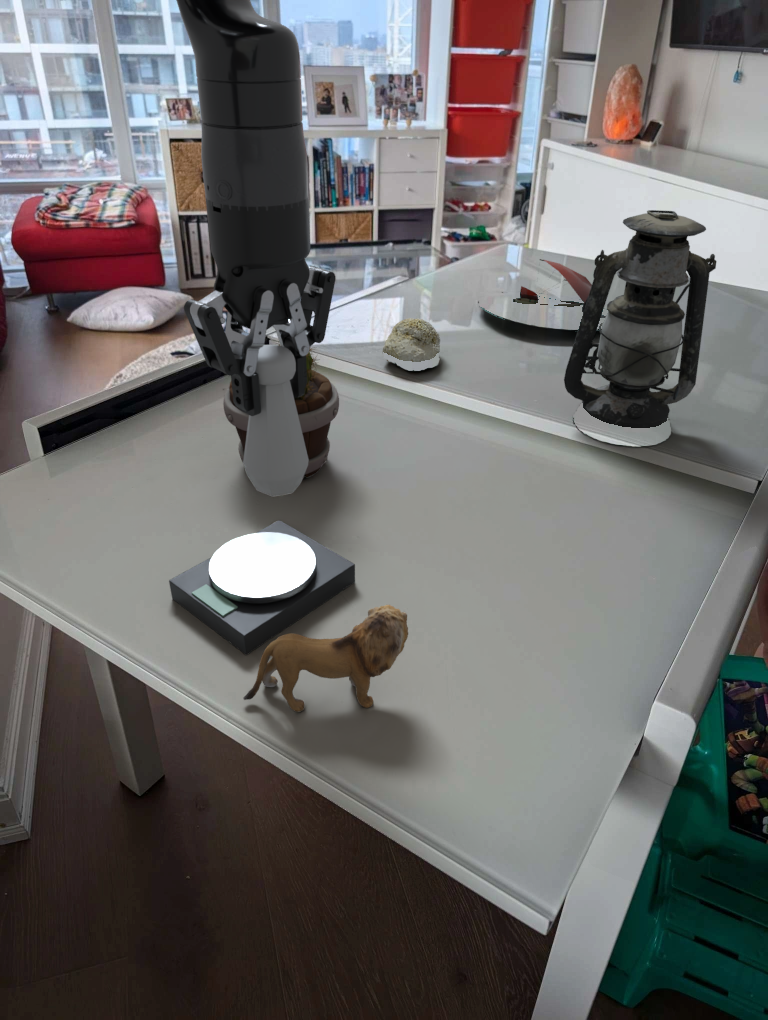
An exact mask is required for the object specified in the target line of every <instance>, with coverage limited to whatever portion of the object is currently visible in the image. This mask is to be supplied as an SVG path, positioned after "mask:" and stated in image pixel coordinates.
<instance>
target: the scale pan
mask: <svg viewBox="0 0 768 1020" xmlns="http://www.w3.org/2000/svg"><path fill="white" fill-rule="evenodd" d="M211 557H212V558H211ZM211 557H210V558H211V560H210V562H209V567H208V571H209V578H210V581H211V583H212V585H213V587H214V588H215V589H216V590H217V591H218V592H219V593H221V594H222V595H224V596H225V597H227V598H230V599H232V600H235V601H239V602H244V603H254V604H261V603H271V602H276V601H280V600H283V599H286V598H289V597H291V596H293V595H295V594H297V593H299V592H300V591H302V590H303V589H304V588H305V587H307V586H308V585H309V583H310V582H311V581H312V579H313V578H314V576H315V573H316V568H317V566H316V556H315V553H314V552H313V550H312V549H311V547H310V546H309V545H308V544H307V543H305V542H304V541H302V540H301V539H299V538H297V537H294V536H292V535H288V534H284V533H277V532H259V533H256V532H253V533H248V534H244V535H240V536H238V537H235V538H233V539H231V540H229V541H227V542H225V543H223V545H221V546H220V547H219V548H217V550H215V552H214V553H213V554H212V556H211Z"/></svg>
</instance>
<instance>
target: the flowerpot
mask: <svg viewBox="0 0 768 1020" xmlns="http://www.w3.org/2000/svg"><path fill="white" fill-rule="evenodd" d="M277 341H278V343H277V345H279V346H281V345H280V342H279V340H277ZM316 348H317V347H314V346H313V347H310V350H309V352H308V354H307V355H306V365H307V384H306V388H305V393H304V395H303V396H300V397H298V398H295V397H294V400H295V405H296V409H297V413H298V417H299V421H300V426H301V430H302V434H303V438H304V442H305V447H306V451H307V455H308V459H309V461H308V466H307V469H306V472H305V474H304V476H303V479H304V478H310V477H313V476H314V475H316V474H317V473H319V471H321V469H322V468H323V466H324V464H325V463H326V462H327V460H328V457H329V454H330V447H331V442H330V440H329V438H328V434H329V432H330V427H331V424H332V421H333V420H334V419H336V417H337V415H338V413H339V410H340V409H339V408H340V397H339V392H338V390H337V388H336V386H335V385H334V384H333V383H332V382H331V381H330V379H329V378H328V377H327V376H325V375H323V374H322V373H320V372H318V371H317V367H316V365H318V362H317V361H316V360H318V361H320V360H321V359H317V358H318V355H316V356H314V355H315V351H316ZM313 353H314V354H313ZM313 356H314V357H313ZM313 368H315V369H313ZM232 391H233V390H232V382H231V381H230V382H229V387H228V388H227V389H226V391H225V393H224V395H223V403H222V405H223V412H224V415H225V418H226V419H227V421H228V422H229V423H230V425H232V426H233V427H235V431H236V433H237V435H238V438H239V440H240V441H239V443H238V447H237V449H238V454H239V456H240V459H241V462H242V463H243V459H244V451H245V444H246V436H247V428H248V420H249V415H248V414H246V413H244V412H242V411H241V410H240V409H239V408H238V407H236V406H235V404H234V402H233V392H232Z"/></svg>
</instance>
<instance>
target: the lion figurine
mask: <svg viewBox="0 0 768 1020" xmlns="http://www.w3.org/2000/svg"><path fill="white" fill-rule="evenodd" d="M408 637H409V627H408V614H407V612H405V611H401V609H400V608H396V607H394V606H392V605H391V604H385V605H380V606H374V607H372V608H368V611H367V616H366V617H365V618H364V620H363V621H362V622H360V623H359V624H356V625H355V626H354V627H353V628H352V631H351V632H350V633H348V634H347V635H345V636H343V637H337V638H311V637H308V636H305V635H302V634H298V633H285V634H282V635H280V636H278V637H276V639H274V640H273V641H271V642H270V643H269V644H267V646H266V647H265V649H264V651H263V653H262V655H261V658H260V661H259V665H258V670H257V674H256V675H257V676H256V680H255V682H254V685H253V686H252V688H251V689H250V690H249V691H248V692H247V693H246V695H244V696H243V700H244V701H247V700H248V701H249V700H252V699H253V698H254V697H256V695H257V693H258V691H259V689H260V687H261V685H262V684H263V685H264V687H267V688H274V687H276V686H277V685H278V683H279V682H278V678H276V676H273V675H272V674H273V673H275V672H276V671H277V674H278V676H279V677H280V680H281V682H282V686H281V690H280V692H281V695H282V696H283V698H284V699H285V700H286V702H287V704H288V706H289V708H290V709H291V710H292V711H294V712H295V713H300V712H303V711H304V710H305V707H306V705H305V701H304V700H303V699H302V698H301V699H300V698H296V697H295V696H294V688H295V687H296V684H297V683H298V681H299V678H300V672H301V671H306V672H308V673H310V674H312V675H313V676H314V675H315V676H317V677H318V678H324V679H334V680H335V679H336V680H337V679H343V678H348V681H349V682H350V684H351V685H352V686H354V687H355V692H356V693H355V696H356V699H357V701H358V703H359V705H360V706H361V707H363V708H366V709H369V708H371V707H373V704H374V698H373V696H372V695H368V692H369V691H370V690H369V689H370V685H371V678H375V677H379V676H381V675H382V674H383V673H384V672H386V671H389V670H390V669H391V668H392V666H393V665H394V664H395V661H396V659H397V658H398V656H399V655H400V654H401V653H402V652H403V651H404V648H405V643H406V642H407V640H408Z"/></svg>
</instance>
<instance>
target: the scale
mask: <svg viewBox="0 0 768 1020" xmlns="http://www.w3.org/2000/svg"><path fill="white" fill-rule="evenodd" d="M259 532H277V533H284V534H288V535H292V536H294V537H297V538H299V539H301V540H302V541H304V542H305V543H307V544H308V545H309V546H310V547H311V549H312V550H313V552H314V553H315V556H316V566H317V568H316V573H315V576H314V578H313V579H312V581H311V582H310V583H309V585H308V586H307V587H305V588H304V589H303V590H302V591H300V592H299V593H297V594H295V595H293V596H291V597H289V598H286V599H283V600H280V601H276V602H271V603H261V604H254V603H244V602H239V601H235V600H232V599H230V598H227V597H225V596H224V595H222V594H221V593H219V592H218V591H217V590H216V589H215V588H214V587H213V585H212V583H211V581H210V578H209V571H208V567H209V562H210V560H211V558H212V556H211V557H209V558H207V559H205V560H203V561H201V562H200V563H198V564H196V565H194V566H193V567H191V568H189V569H187V570H185V571H183V572H182V573H180V574H178V575H176V576H174V577H172V578H170V579H169V580H168V582H169V589H170V594H171V595H170V596H171V599H172V600H173V601H175V602H176V604H178V605H179V606H181V607H182V608H183V609H185V610H186V611H187V612H189V613H190V614H191V615H193V616H194V617H195V618H196V619H198V620H199V621H200V622H202V623H204V624H205V625H206V626H207V627H209V629H211V630H213V631H214V632H215V633H217V634H218V635H219V636H220V637H222V638H223V639H225V640H226V641H227V642H228V643H230V644H231V645H232V646H233V647H235V648H236V649H237V650H239V651H240V652H241V653H243V654H244V655H246V656H247V655H249V654H250V653H252V652H253V651H255V650H256V649H258V648H259V647H260V646H262V645H263V644H265V643H266V642H268V641H269V640H271V639H273V638H274V637H275V636H277V635H279V634H280V633H281V632H283V631H285V630H286V629H288V628H289V627H290V626H292V625H294V624H295V623H296V622H298V621H299V620H301V619H302V618H304V617H305V616H307V615H308V614H310V613H311V612H314V611H315V610H316V609H318V608H319V607H320V606H322V605H323V604H325V603H327V602H328V601H330V600H331V599H332V598H334V597H336V596H337V595H338V594H339V593H341V592H343V591H344V590H345V589H347V588H348V587H350V586H352V585H353V584H354V583H356V564H355V563H354V562H352V561H351V560H349V559H347V558H346V557H344V556H342V555H340V554H338V553H337V552H335V551H333V550H332V549H330V548H328V547H327V546H325V545H323V544H321V543H320V542H318V541H316V540H315V539H313V538H311V537H309V536H308V535H306V534H304V533H303V532H301V531H299V530H298V529H296V528H295V527H293V526H291V525H290V524H287V523H286V522H284V521H282V520H281V519H278V520H277V521H275V522H273V523H271V524H269V525H267V526H265V527H263V528H262V529H260V530H258V531H256V532H255V533H259Z"/></svg>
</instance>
